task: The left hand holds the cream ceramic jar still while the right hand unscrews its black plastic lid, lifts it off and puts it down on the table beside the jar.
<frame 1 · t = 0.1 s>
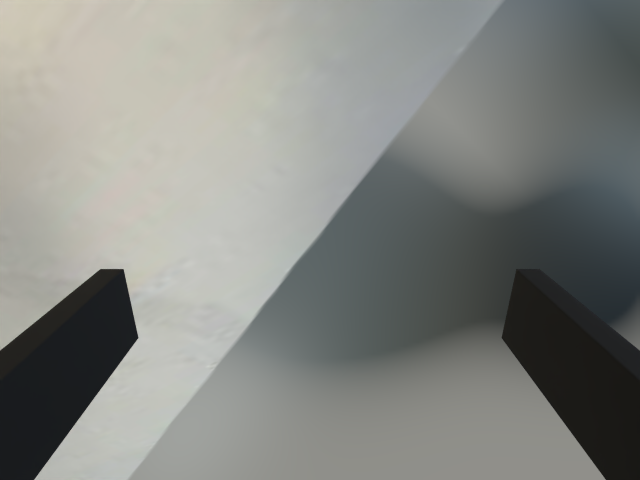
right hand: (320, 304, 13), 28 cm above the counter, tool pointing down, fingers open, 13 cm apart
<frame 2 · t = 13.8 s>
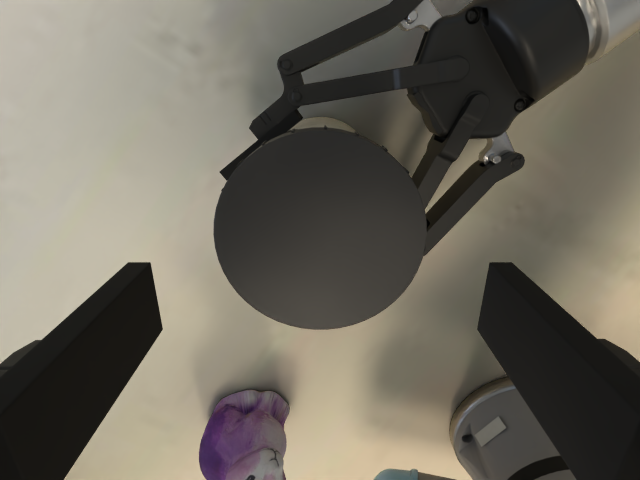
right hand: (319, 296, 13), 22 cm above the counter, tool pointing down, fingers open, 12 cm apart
left hand: (273, 225, 28), fingers closed on jar, 9 cm apart
figurine: (251, 410, 44), on the counter
lid: (320, 237, 19), point 16 cm above the counter, screwed on, not yet turned
jar: (320, 172, 34), on the counter, touching left hand
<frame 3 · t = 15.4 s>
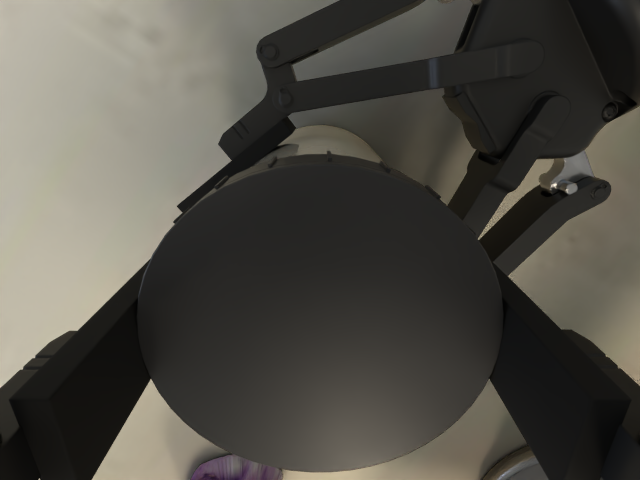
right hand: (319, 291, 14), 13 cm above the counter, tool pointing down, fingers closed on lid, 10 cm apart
left hand: (256, 274, 21), fingers closed on jar, 9 cm apart
figurine: (236, 477, 36), on the counter
lid: (320, 338, 11), point 16 cm above the counter, screwed on, not yet turned, touching right hand
jar: (319, 195, 26), on the counter, touching left hand
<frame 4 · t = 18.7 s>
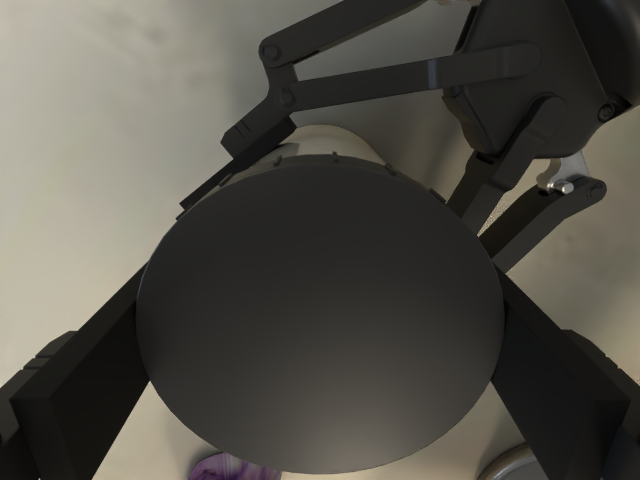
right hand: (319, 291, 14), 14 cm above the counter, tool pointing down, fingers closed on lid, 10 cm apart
left hand: (257, 271, 21), fingers closed on jar, 9 cm apart
figurine: (235, 473, 37), on the counter
lid: (320, 340, 11), point 17 cm above the counter, turned 113° so far, risen 0.4 cm, still on its thread, touching right hand
jar: (320, 194, 26), on the counter, touching left hand
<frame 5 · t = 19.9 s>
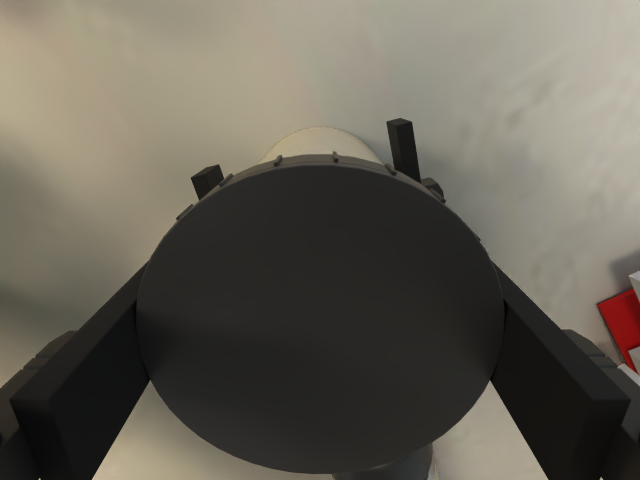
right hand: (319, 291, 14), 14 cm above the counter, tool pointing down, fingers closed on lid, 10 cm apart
lid: (320, 339, 11), point 17 cm above the counter, off its thread, touching right hand
jar: (320, 195, 27), on the counter, touching left hand
when the right hand's fingers open (0 cm above the counter, at t = 25.2 s): lid drops 2 cm, point 1 cm above the counter.
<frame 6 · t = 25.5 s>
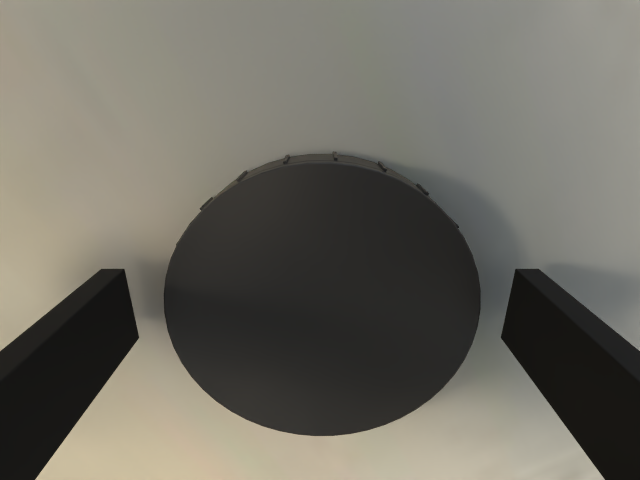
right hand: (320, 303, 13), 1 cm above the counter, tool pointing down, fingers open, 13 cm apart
lid: (322, 314, 13), point 1 cm above the counter, off its thread
when the left hand's fingers open (7 cm above the counter, at t = 26.2 s): jar stays where it is, on the counter.
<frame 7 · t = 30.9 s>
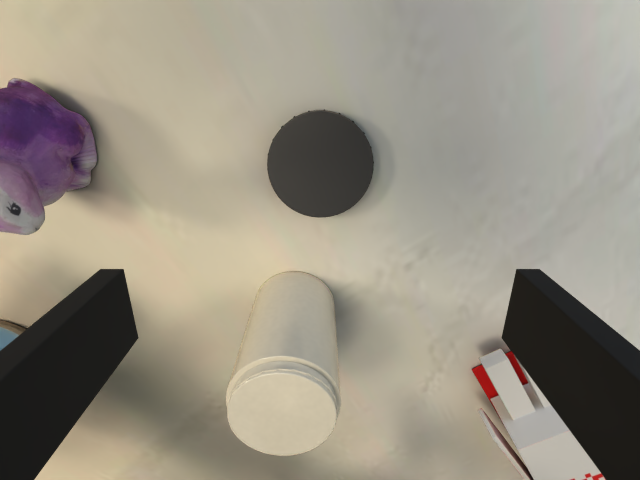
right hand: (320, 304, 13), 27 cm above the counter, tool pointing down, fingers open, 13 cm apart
figurine: (64, 145, 37), on the counter
lid: (320, 166, 37), point 1 cm above the counter, off its thread
jar: (294, 306, 44), on the counter
toy: (532, 411, 50), on the counter
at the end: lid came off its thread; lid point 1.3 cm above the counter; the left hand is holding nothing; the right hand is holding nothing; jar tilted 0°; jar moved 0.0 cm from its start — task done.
